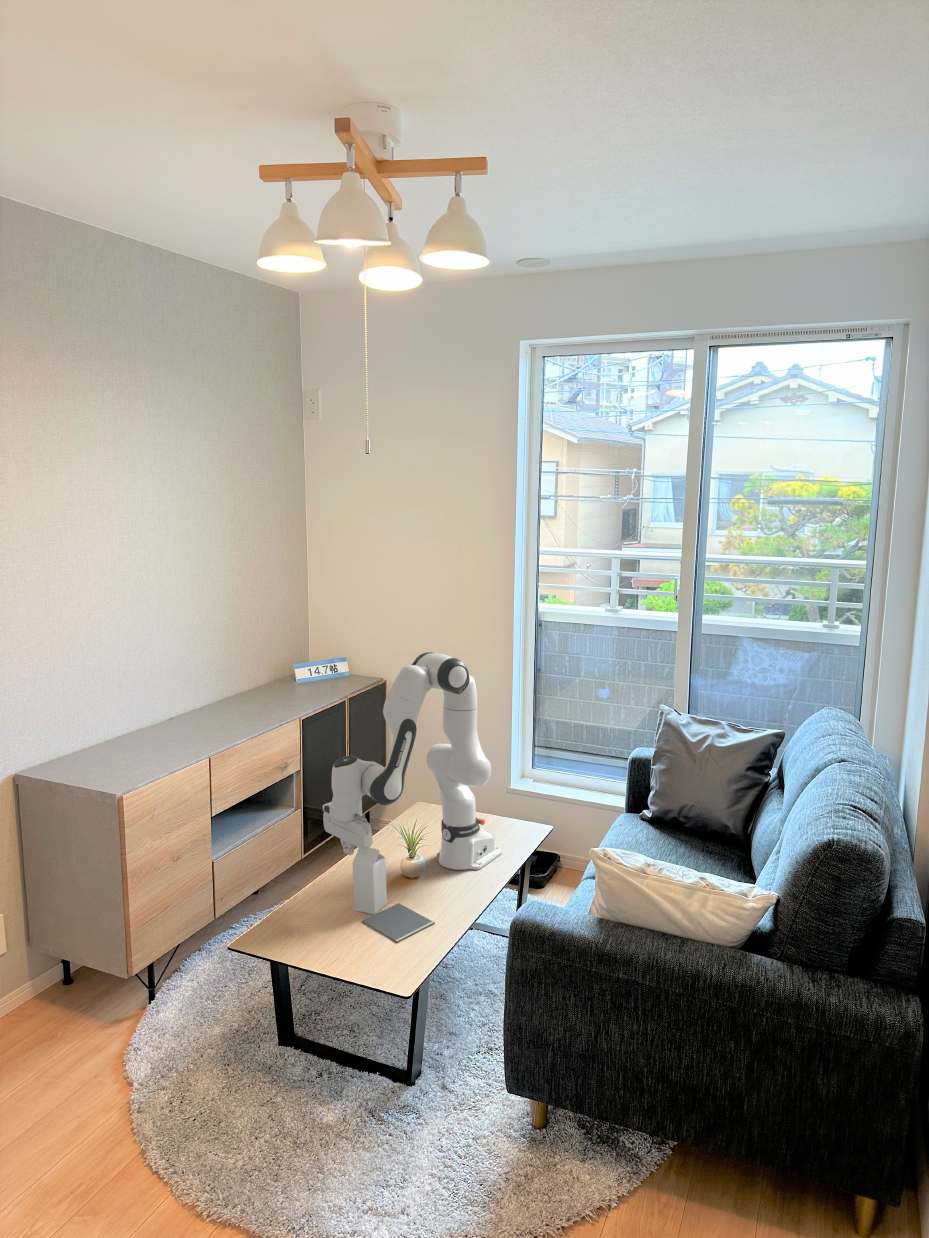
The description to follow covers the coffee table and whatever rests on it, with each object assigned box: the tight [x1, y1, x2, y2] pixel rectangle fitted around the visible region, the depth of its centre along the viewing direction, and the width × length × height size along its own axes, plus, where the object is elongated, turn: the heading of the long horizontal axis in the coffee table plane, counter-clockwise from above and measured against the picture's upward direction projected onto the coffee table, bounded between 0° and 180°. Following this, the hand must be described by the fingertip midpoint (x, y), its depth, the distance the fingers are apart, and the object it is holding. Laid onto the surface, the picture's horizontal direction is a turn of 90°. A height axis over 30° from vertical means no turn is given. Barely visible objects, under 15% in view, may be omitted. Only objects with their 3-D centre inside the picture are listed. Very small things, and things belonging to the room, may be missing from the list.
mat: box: [361, 902, 435, 944], centre depth 239 cm, size 14×16×1 cm
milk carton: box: [352, 847, 388, 915], centre depth 246 cm, size 7×7×19 cm
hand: (348, 853), depth 252 cm, fingers closed
